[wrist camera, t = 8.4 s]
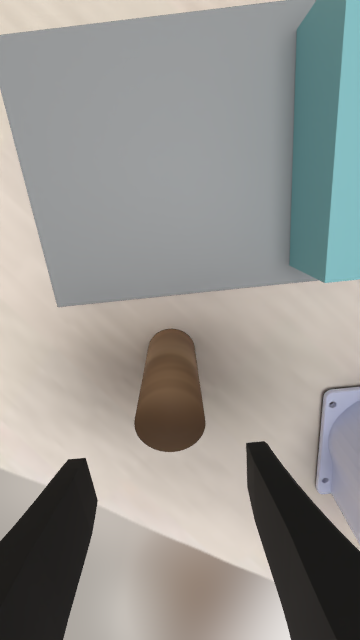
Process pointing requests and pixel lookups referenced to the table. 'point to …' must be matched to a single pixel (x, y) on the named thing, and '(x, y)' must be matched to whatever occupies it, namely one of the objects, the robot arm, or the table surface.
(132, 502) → the table surface
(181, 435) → the walnut dowel
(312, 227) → the teal block
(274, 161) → the slate board
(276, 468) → the robot arm
